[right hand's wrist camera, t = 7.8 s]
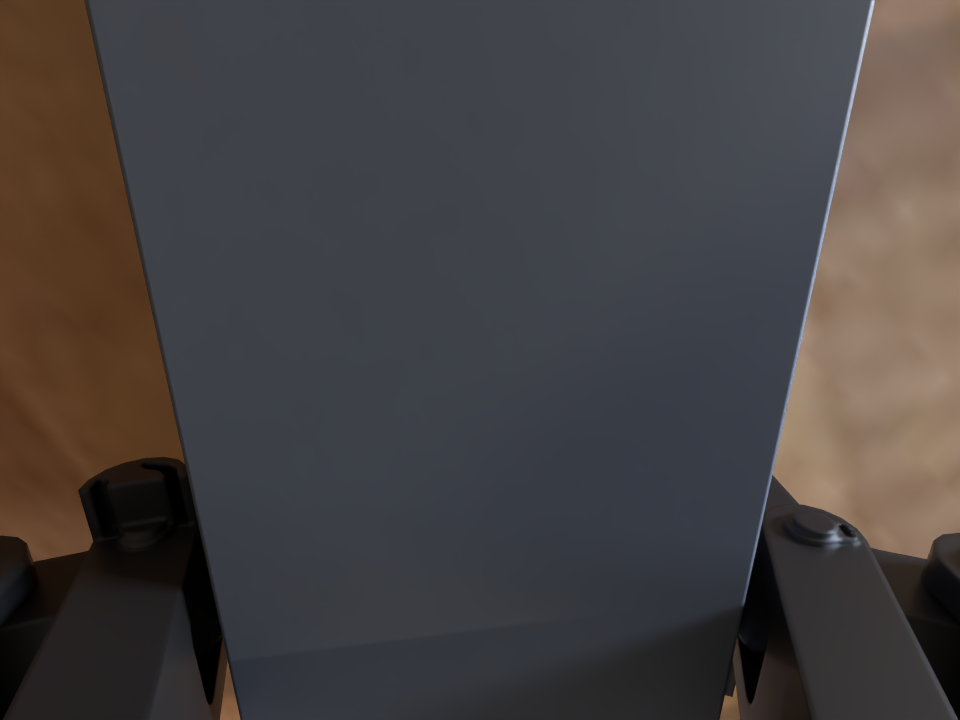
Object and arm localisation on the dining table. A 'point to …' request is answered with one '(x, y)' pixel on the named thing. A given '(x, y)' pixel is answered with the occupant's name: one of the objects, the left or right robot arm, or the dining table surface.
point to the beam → (479, 330)
